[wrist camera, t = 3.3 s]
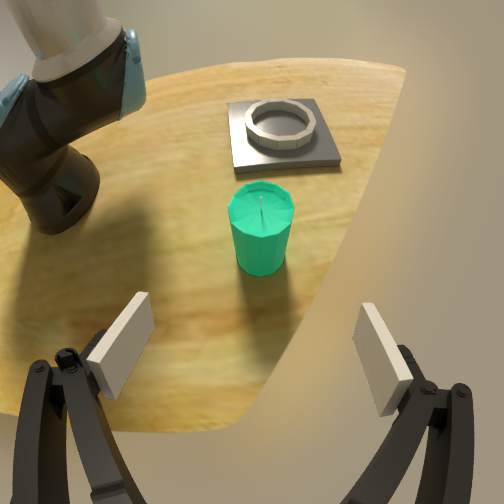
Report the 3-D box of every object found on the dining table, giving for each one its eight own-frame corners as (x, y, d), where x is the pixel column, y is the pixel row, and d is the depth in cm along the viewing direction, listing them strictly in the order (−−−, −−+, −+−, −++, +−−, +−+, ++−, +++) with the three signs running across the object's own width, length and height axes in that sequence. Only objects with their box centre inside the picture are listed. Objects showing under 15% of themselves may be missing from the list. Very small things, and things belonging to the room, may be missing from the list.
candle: (269, 224, 36) (272, 161, 25) (294, 262, 34) (310, 208, 23) (227, 245, 35) (214, 187, 24) (250, 285, 33) (246, 240, 22)
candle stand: (234, 173, 39) (233, 157, 36) (228, 109, 46) (226, 94, 42) (339, 165, 40) (344, 150, 37) (313, 104, 46) (315, 90, 43)
